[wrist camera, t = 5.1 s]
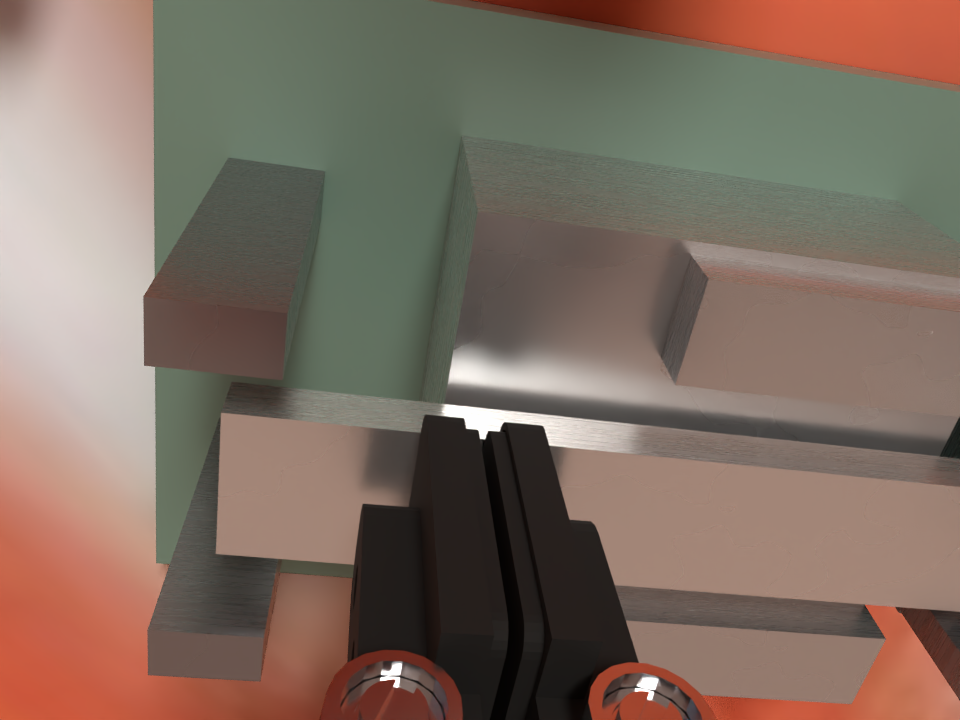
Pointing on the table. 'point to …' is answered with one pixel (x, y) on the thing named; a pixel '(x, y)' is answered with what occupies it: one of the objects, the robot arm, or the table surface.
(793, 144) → the board
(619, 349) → the grey block frame
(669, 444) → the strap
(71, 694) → the table surface
